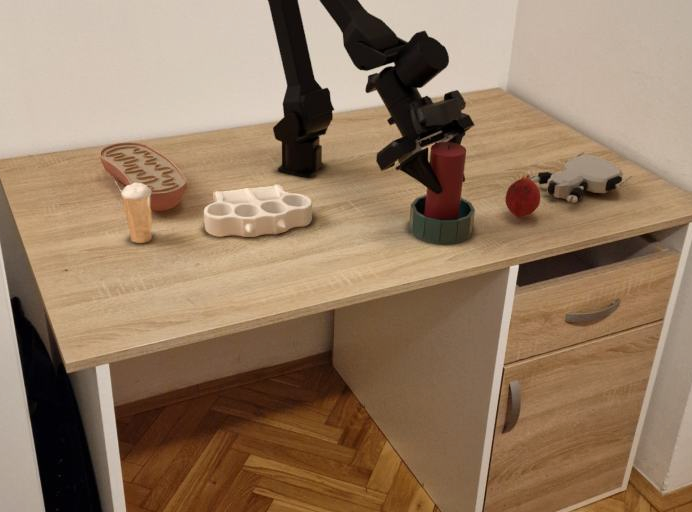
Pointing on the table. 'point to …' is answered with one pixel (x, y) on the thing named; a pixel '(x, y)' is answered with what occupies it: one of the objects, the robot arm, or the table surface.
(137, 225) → the milkshake
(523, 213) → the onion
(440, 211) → the candle
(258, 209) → the knuckle duster
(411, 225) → the shallow bowl
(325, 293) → the table surface
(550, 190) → the robot toy
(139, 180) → the mitochondrion model
